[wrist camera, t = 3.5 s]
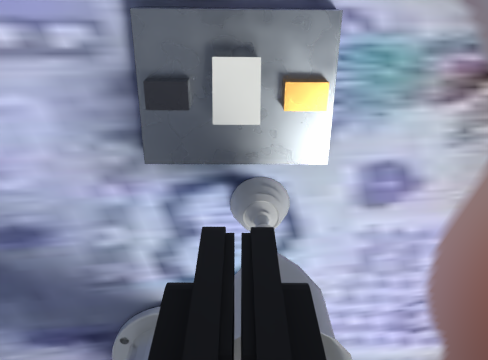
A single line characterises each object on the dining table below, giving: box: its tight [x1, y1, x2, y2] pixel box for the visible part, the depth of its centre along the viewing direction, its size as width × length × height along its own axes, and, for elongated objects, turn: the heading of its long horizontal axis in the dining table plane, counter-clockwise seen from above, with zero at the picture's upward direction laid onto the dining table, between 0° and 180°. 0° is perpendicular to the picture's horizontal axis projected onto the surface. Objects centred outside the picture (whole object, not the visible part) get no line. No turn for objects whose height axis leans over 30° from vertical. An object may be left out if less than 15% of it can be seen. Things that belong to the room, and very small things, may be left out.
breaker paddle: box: [212, 57, 261, 125], centre depth 29 cm, size 4×3×1 cm
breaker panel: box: [130, 7, 343, 164], centre depth 30 cm, size 11×14×3 cm
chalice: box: [230, 177, 352, 360], centre depth 28 cm, size 7×7×18 cm
